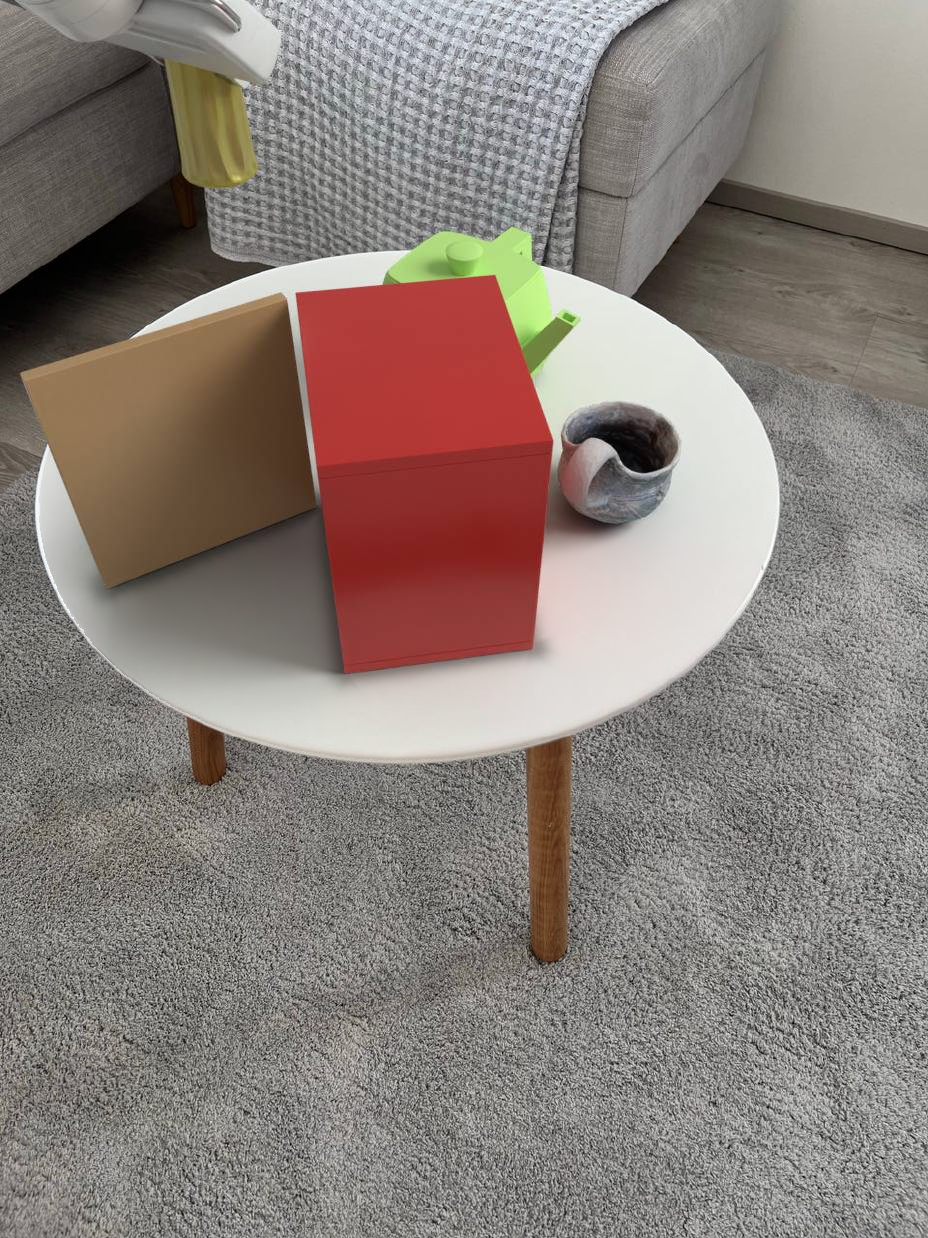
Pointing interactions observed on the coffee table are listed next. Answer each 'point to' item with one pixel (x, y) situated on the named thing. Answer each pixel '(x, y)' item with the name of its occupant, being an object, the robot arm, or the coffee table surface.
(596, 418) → the mug
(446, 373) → the cabinet
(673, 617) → the coffee table surface
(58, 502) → the coffee table surface
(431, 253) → the teapot
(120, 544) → the door
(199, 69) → the vase
